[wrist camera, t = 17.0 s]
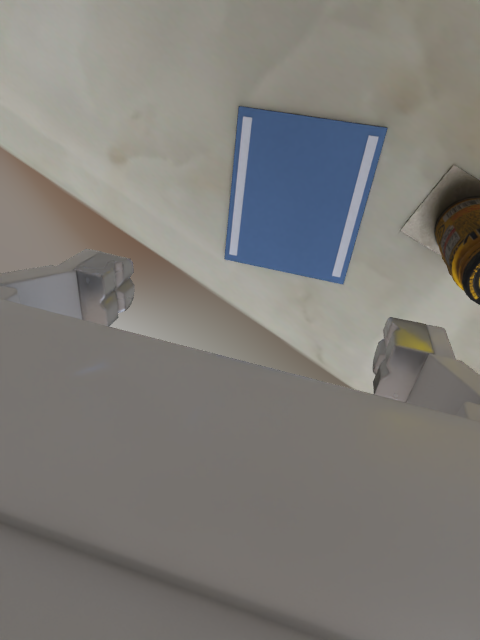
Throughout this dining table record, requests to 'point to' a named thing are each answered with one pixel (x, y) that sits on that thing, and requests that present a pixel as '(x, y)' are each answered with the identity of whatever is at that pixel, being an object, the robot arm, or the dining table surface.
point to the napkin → (299, 191)
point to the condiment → (452, 227)
